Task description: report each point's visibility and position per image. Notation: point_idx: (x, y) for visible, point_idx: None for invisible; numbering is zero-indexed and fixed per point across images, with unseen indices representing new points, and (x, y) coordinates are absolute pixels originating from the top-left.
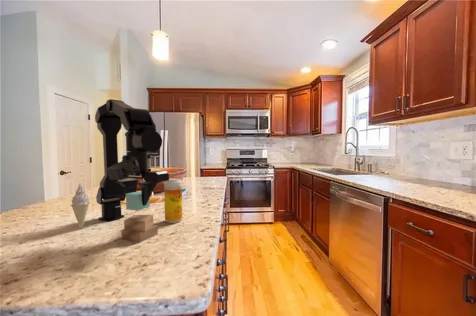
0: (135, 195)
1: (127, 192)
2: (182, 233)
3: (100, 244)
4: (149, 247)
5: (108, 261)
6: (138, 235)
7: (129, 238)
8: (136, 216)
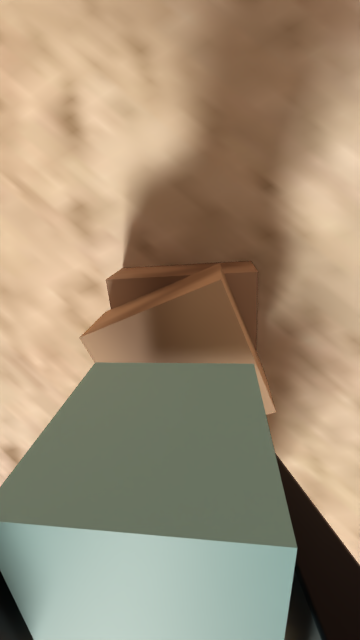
0: (37, 510)
1: (343, 619)
2: (52, 412)
3: (302, 147)
4: (35, 242)
5: (47, 3)
6: (122, 274)
7: (193, 266)
8: None
